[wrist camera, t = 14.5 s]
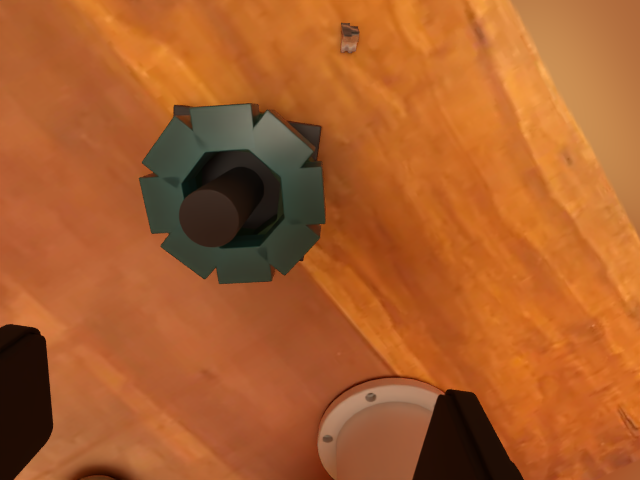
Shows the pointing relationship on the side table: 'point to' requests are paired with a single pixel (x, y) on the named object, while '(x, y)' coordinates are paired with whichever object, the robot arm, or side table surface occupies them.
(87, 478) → the cup
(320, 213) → the teal ring
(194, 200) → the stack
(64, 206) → the side table surface
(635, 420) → the side table surface
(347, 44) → the figurine
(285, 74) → the side table surface
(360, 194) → the side table surface
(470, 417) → the robot arm
